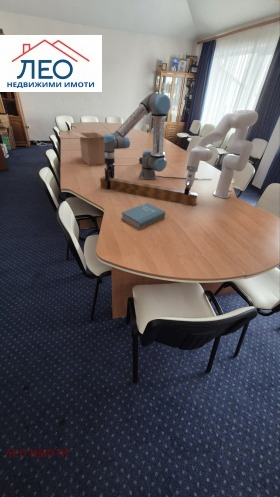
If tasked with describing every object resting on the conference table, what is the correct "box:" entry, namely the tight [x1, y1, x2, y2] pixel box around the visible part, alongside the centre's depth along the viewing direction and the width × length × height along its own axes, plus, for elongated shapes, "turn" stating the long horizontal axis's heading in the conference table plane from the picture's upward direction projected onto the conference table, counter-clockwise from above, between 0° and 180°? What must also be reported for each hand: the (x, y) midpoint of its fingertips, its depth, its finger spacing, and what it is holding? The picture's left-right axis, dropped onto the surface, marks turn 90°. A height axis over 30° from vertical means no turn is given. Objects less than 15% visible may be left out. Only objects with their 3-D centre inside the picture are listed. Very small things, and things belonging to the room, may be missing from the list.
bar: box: [99, 175, 199, 206], centre depth 170 cm, size 76×5×8 cm, turn 72°
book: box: [121, 202, 166, 230], centre depth 139 cm, size 23×16×5 cm
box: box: [70, 129, 108, 166], centre depth 229 cm, size 44×36×27 cm
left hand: (110, 187), depth 178 cm, fingers closed on bar, 5 cm apart
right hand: (187, 192), depth 160 cm, fingers open, 9 cm apart
